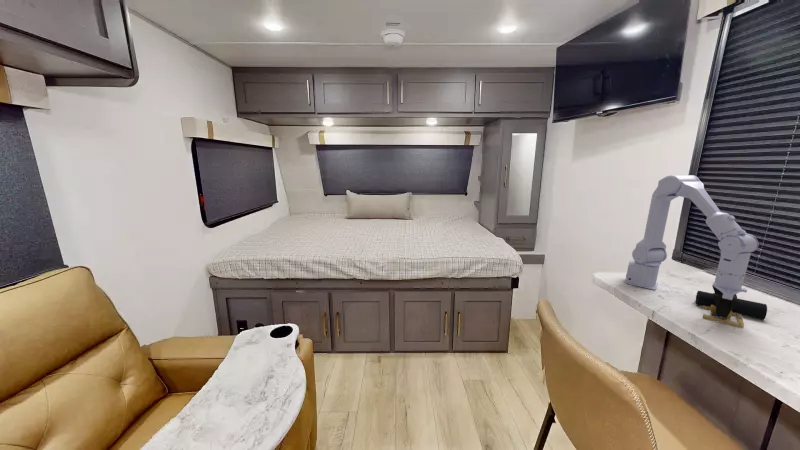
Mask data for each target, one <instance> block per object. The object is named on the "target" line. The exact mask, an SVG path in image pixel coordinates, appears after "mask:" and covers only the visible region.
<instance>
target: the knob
mask: <svg viewBox="0 0 800 450" xmlns="http://www.w3.org/2000/svg"><path fill="white" fill-rule="evenodd" d="M709 311H710V313H711V316H714V315H715V316H716V307H715V306H714V305H711V307H710V310H709ZM731 318H732V310H731V312H730V313H729V315H728V317H727V318H724V319H726V320H730V319H731Z"/></svg>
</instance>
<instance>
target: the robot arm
mask: <svg viewBox="0 0 800 450" xmlns="http://www.w3.org/2000/svg"><path fill="white" fill-rule="evenodd" d="M679 197H682V198H686V199H689V200H691V202H693V203H692V204H694V205H695V206H696V207H697V209H699V211H701V213H703V214H704V215H705V217H706V220H705V224H706V225H707V226H708V228H709V229H710V231H712V233H713V234H714V235H715V236H716V238H717V239H718V240H719V241H718V243H717V244H718V248H719V250H720V258H719V262H718V266H717V271H716V273H715V278H714V282H712V289H713V297H714V299H715V307H716V314H715V317H718V318H722V319H725V318H727V317H728V315H729V313H730V312H731V310H732V309H733V308H734V307H735V306H736V305H737V304H739V303H740V300H739V299H740V298H738V299H734V298H733V296H734V295H735V294H736V295H737V294H739V293H747V292H748V289H747V288H746V287H743V284H744V280H745V276H746V273H747V270H748V265H749V262H750V259H751V255H752V253H753V252H755V251H756V250H758V248H759V246H760V245H759V241H758V239H757V237H756V236H755V235H753V234H751V233H747V231H746V230H745V229H743V228H741V226H740V225H739V223H738V222H736V221H735V220H736V217H735V216H734V215H733V214H732V215H730V213H727V212H723V211H721V210H720V208H719V207H718V206H717V205H716V203H715V202H714V201H713V199H712V198H711V196H710V195H709V193H708V192H707V191H706V189H705V185H704V183H703V182H702V181H701V180H700V178H699V177H698V176H696V175H693V174H689V175H671V174H670V175H667V176H664V177H663V178H661V179H660V180H659V181H658V183H657V186H656V188H655V190H654V191H653V193H652V196H651V199H650V205H649V209H648V214H647V219H646V220H647V221H646V225H645V230H644V233H643V234H644V236H643V239H641V240H640V241H638V242H637V243H636V244H635V247H634V249H633V250H632V254H631V255H632V256H631V257H632V260H629V262H628V265H627V271H626V275H625V282H624V283H625V284H628V285H632V286H636V287H640V288H644V289H649V290H653V291H656V290H657V287H658V282H657V280H658V275H659V272H660V271H659V270H660V266H661V265H662V262H664V261H666V259H667V257H668V254H667V253H668V252H667V245H666V244H665V242H664V241H663V240H664V234H665V230H666V225H667V220H668V214H669V210H670V206H671V201H673V200H674V199H677V198H679Z"/></svg>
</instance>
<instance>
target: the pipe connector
mask: <svg viewBox="0 0 800 450" xmlns="http://www.w3.org/2000/svg"><path fill="white" fill-rule="evenodd" d="M713 293H714V292H713ZM713 293H711V292H706V291H702V290H697V292H696V295H695V303H694V304H695V305H696V306H701V307H703V305H708V306H711V305H714V306H715V299H714V297H713ZM733 298H734V299H739V300H740V303H739V304H737V305H736V306H735V307H734V308H733V309H732V311H733V312H737V313H741V314H742V316H745V317H748V318H753V319H758V320H762V321H764V320H765V319H766V317H767V313H768V305H767V304H766V303H761V302H757V301H752V300H747V299H742V298H738V295H737V294H735V295H734V296H733Z"/></svg>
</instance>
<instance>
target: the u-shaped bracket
mask: <svg viewBox="0 0 800 450" xmlns="http://www.w3.org/2000/svg"><path fill="white" fill-rule="evenodd" d="M710 307H711V306H708V305H703V306H702V309H705V310H708V311H711V310H710ZM732 316H733V317H735V318H736V321H733V320H730V319H729V320H726V319H725V318H721V317H717V316H714V315H709V314H707V313H703V314H702V318H703V319H706V320H709V321H714V322H718V323H721V324H725V325H729V326H732V327H736V328H741V329H744V328H745V327H744V326H745V324H744V323H745V322H744V319H743V315H742V314H741V313H737V312H733V311H732ZM732 316H731V317H732Z"/></svg>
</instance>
